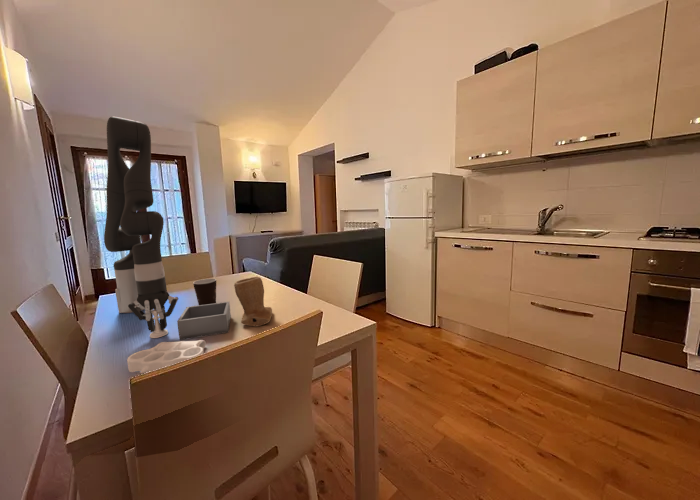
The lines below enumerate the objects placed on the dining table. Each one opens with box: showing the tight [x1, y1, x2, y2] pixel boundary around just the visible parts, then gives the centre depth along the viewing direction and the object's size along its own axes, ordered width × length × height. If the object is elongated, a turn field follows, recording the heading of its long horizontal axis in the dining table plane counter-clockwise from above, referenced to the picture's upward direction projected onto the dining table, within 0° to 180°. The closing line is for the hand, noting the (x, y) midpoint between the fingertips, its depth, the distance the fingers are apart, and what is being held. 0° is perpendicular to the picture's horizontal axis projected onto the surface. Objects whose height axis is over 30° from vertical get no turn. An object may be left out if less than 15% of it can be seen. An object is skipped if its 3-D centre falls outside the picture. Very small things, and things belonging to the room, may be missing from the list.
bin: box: [176, 301, 232, 341], centre depth 96 cm, size 14×14×6 cm
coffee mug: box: [192, 278, 217, 305], centre depth 121 cm, size 12×9×10 cm
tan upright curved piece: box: [233, 276, 273, 327], centre depth 101 cm, size 15×12×15 cm
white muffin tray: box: [126, 339, 206, 374], centre depth 76 cm, size 3×18×15 cm
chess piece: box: [149, 309, 169, 339], centre depth 92 cm, size 5×5×10 cm
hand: (158, 330), depth 92 cm, fingers closed on chess piece
